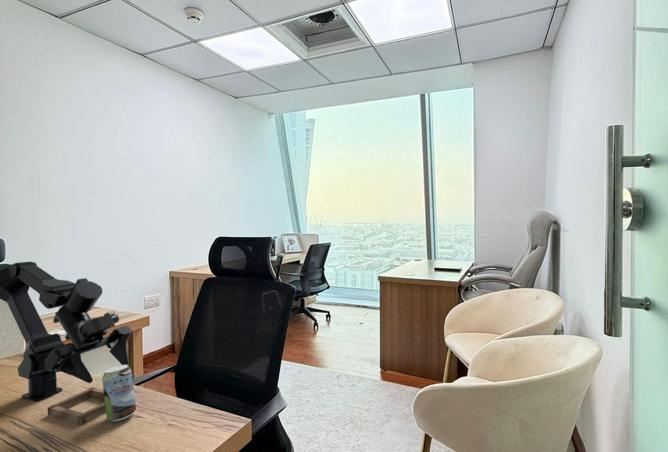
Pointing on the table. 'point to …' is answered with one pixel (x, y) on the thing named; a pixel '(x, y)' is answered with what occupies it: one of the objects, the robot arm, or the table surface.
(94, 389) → the walnut collar
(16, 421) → the table surface
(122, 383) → the beverage can
